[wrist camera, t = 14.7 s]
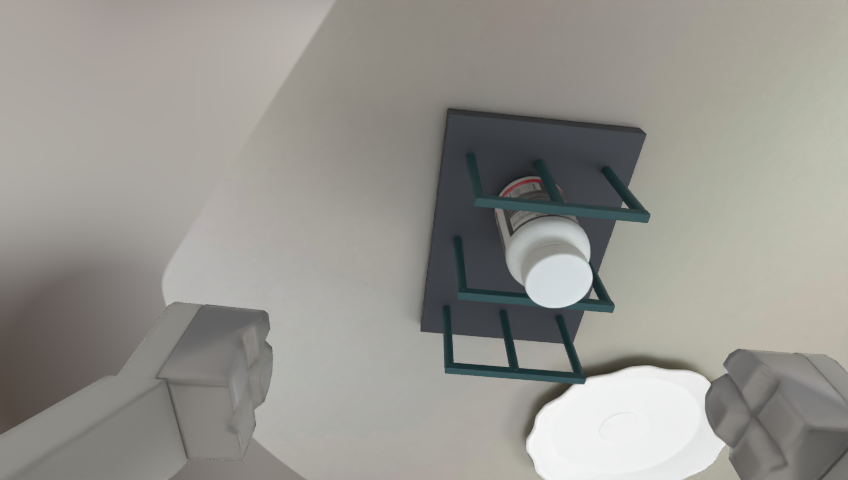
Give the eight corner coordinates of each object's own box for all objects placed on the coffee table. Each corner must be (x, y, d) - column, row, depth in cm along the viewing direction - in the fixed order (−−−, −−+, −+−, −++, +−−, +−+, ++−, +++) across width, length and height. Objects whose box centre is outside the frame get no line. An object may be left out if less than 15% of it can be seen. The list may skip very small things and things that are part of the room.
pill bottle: (553, 241, 38) (587, 323, 30) (487, 232, 38) (503, 312, 29) (574, 179, 35) (618, 250, 27) (503, 168, 35) (525, 237, 27)
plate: (501, 387, 48) (503, 400, 47) (718, 331, 44) (728, 344, 43) (551, 498, 58) (554, 512, 57) (732, 461, 54) (740, 475, 53)
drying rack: (447, 108, 34) (452, 151, 27) (640, 128, 35) (697, 175, 27) (420, 323, 44) (418, 396, 37) (569, 335, 45) (596, 410, 38)
